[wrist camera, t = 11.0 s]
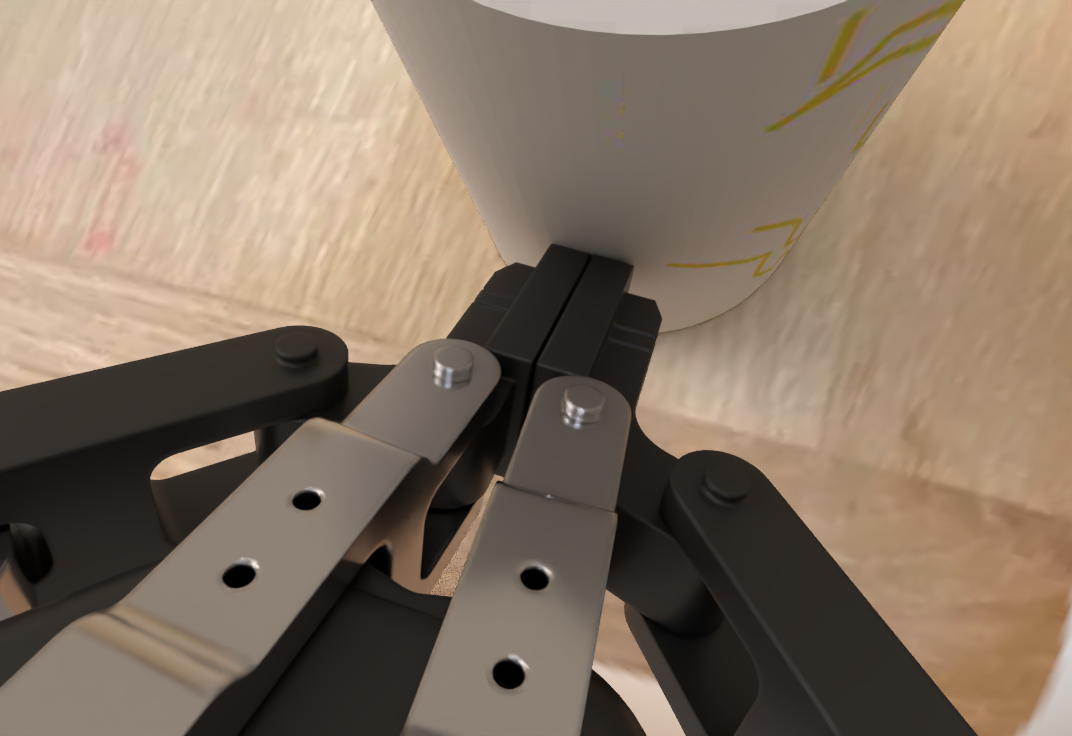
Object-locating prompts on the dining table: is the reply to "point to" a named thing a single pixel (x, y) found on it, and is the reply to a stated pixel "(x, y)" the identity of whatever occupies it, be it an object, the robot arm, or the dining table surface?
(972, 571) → the dining table surface
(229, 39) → the dining table surface
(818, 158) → the beige solid cylinder
